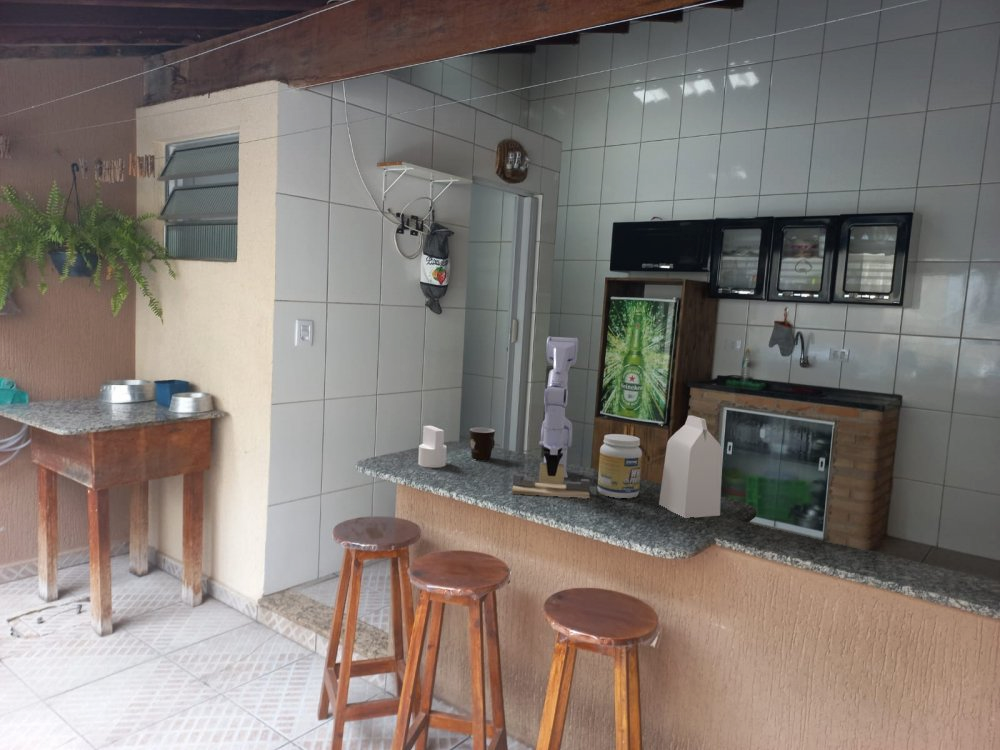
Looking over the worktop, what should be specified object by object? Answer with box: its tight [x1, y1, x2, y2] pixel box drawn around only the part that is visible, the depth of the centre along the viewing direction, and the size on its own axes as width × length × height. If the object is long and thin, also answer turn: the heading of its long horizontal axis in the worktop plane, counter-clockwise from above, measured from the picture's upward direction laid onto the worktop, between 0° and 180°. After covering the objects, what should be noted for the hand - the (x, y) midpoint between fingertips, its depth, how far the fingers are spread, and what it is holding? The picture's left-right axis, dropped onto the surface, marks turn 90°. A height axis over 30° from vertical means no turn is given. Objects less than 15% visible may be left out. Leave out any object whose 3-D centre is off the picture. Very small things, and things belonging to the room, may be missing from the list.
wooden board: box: [512, 482, 591, 499], centre depth 203 cm, size 10×22×1 cm, turn 88°
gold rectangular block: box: [538, 461, 565, 484], centre depth 202 cm, size 4×7×5 cm, turn 88°
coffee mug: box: [469, 427, 496, 461], centre depth 237 cm, size 12×9×10 cm
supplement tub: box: [597, 433, 643, 499], centre depth 203 cm, size 12×12×17 cm
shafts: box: [512, 473, 591, 493], centre depth 204 cm, size 4×22×3 cm, turn 88°
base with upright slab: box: [418, 425, 448, 469], centre depth 227 cm, size 9×9×12 cm
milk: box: [658, 415, 723, 519], centre depth 190 cm, size 12×12×26 cm
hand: (551, 473), depth 202 cm, fingers closed on gold rectangular block, 4 cm apart
